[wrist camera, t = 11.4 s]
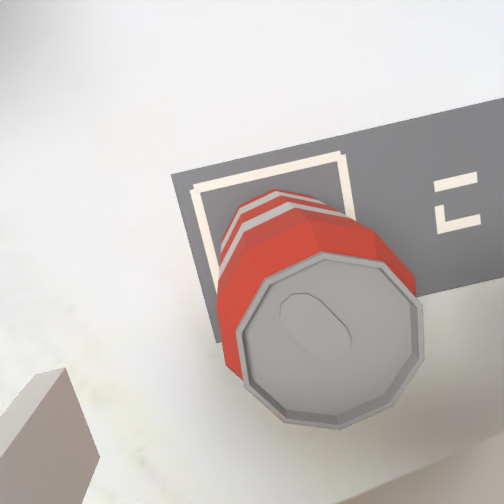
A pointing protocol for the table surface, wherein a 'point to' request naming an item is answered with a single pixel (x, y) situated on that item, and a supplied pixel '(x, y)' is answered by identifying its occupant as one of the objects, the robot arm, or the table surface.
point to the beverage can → (315, 311)
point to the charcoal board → (376, 194)
